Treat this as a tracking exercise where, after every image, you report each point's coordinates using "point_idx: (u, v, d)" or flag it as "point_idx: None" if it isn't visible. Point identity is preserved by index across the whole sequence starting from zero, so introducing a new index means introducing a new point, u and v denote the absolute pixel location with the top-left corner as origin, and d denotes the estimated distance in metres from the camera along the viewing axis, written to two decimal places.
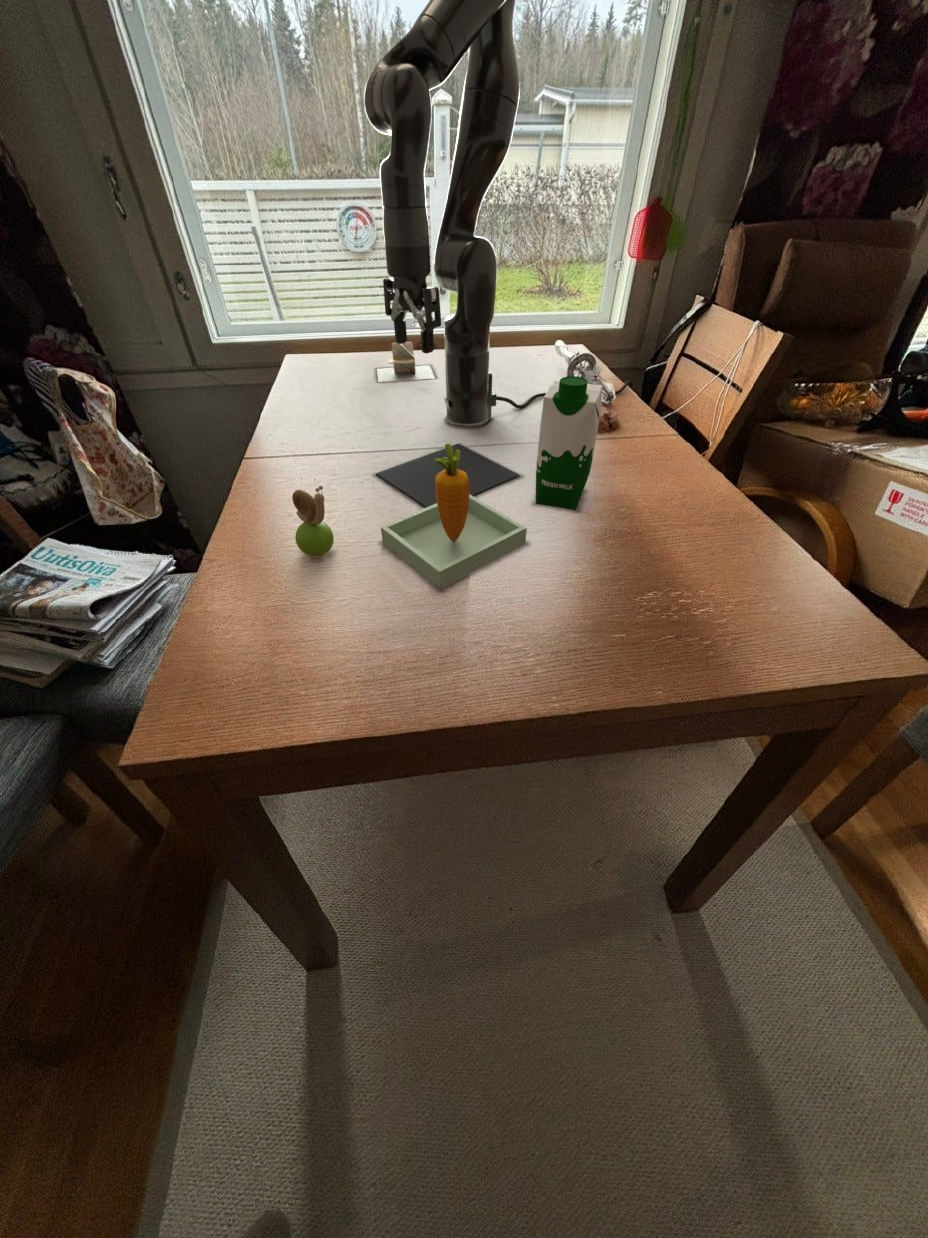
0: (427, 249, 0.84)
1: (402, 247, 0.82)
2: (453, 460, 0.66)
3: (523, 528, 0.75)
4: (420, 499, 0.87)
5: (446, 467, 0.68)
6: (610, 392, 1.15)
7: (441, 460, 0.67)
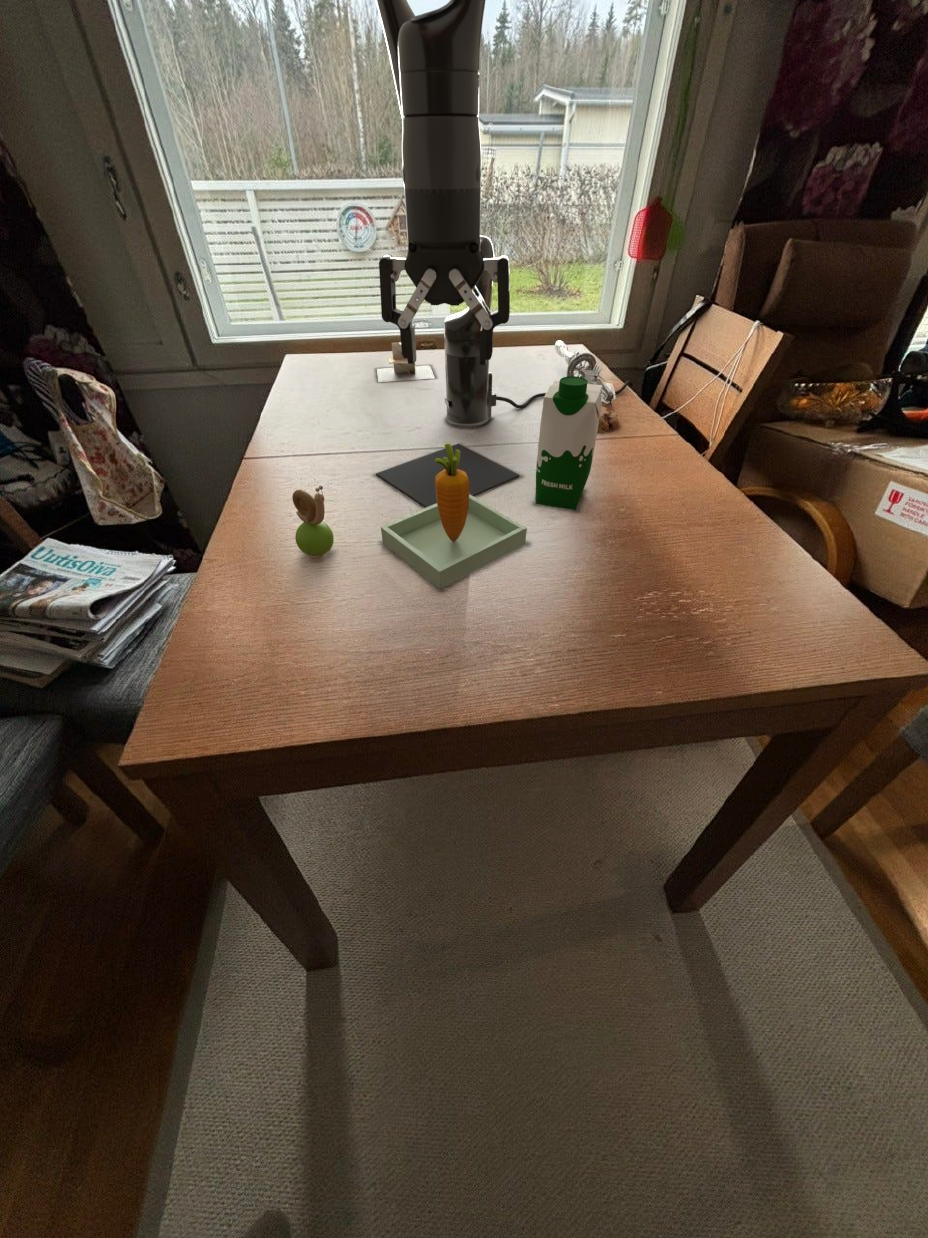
0: None
1: (466, 189, 0.47)
2: (453, 460, 0.66)
3: (523, 528, 0.75)
4: (420, 499, 0.87)
5: (446, 467, 0.68)
6: (610, 392, 1.15)
7: (441, 460, 0.67)
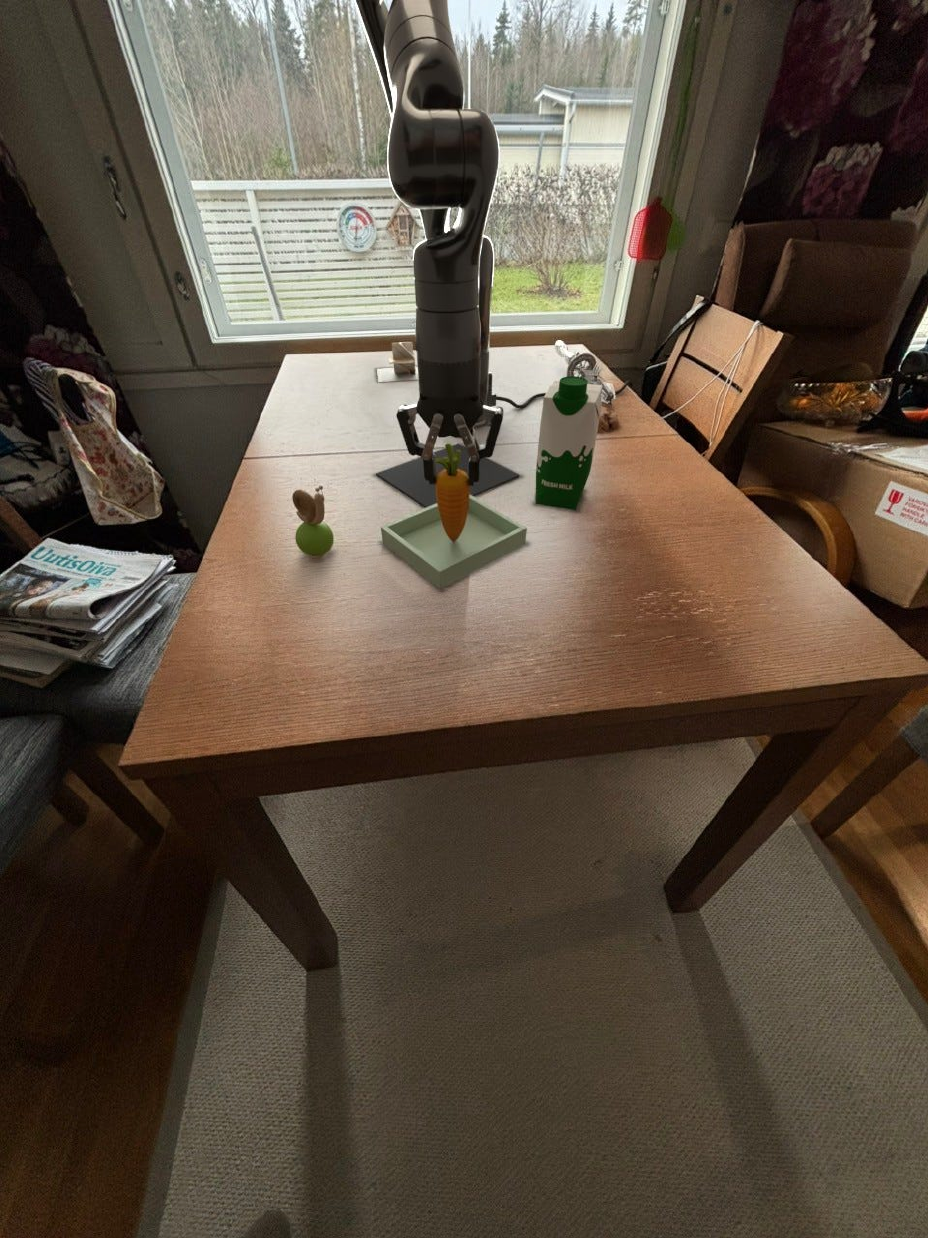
0: None
1: (468, 360, 0.57)
2: (453, 460, 0.66)
3: (523, 528, 0.75)
4: (420, 499, 0.87)
5: (446, 467, 0.68)
6: (610, 392, 1.15)
7: (441, 460, 0.67)
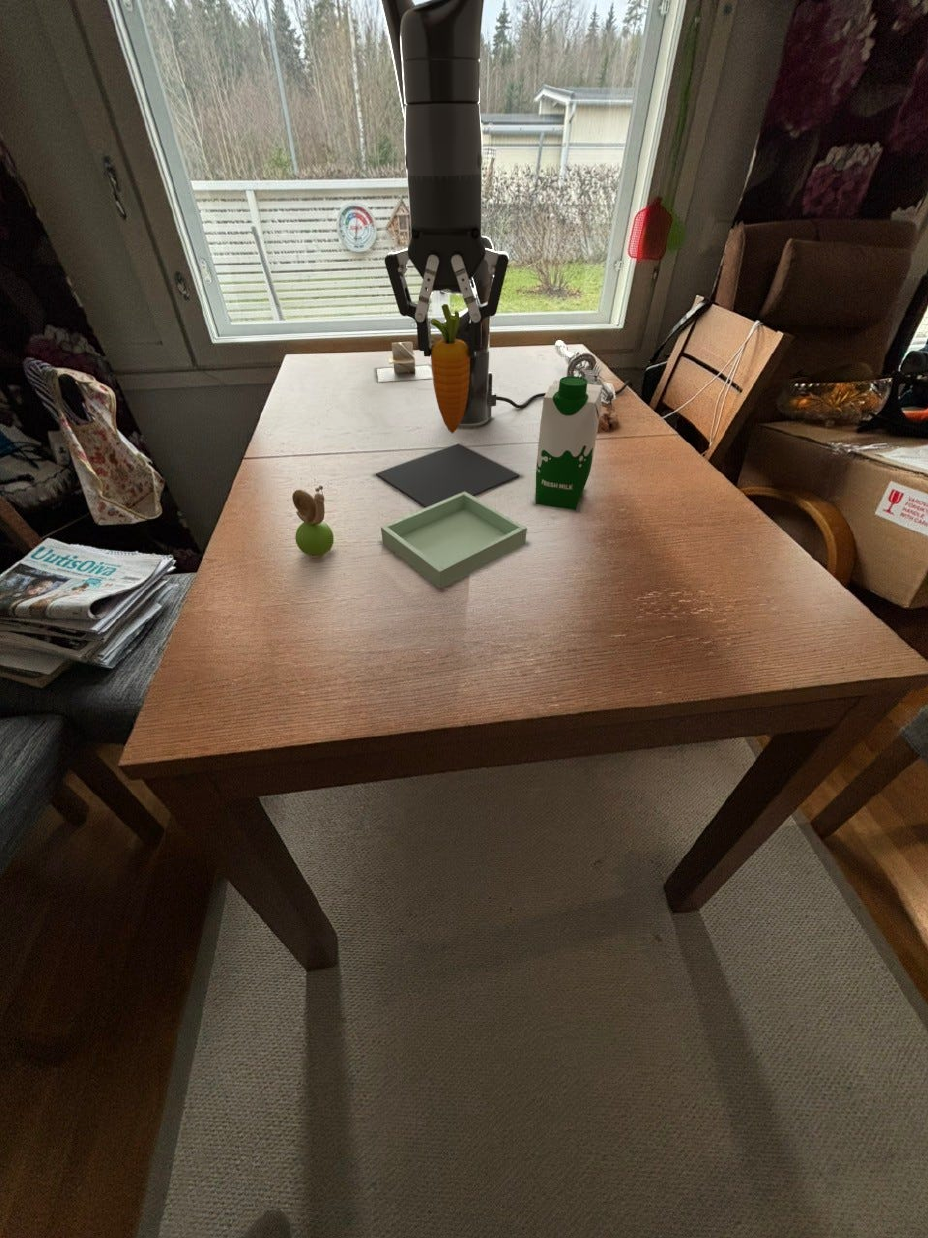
0: None
1: (468, 175, 0.48)
2: (451, 319, 0.57)
3: (523, 528, 0.75)
4: (420, 499, 0.87)
5: (443, 332, 0.59)
6: (610, 392, 1.15)
7: (437, 322, 0.58)
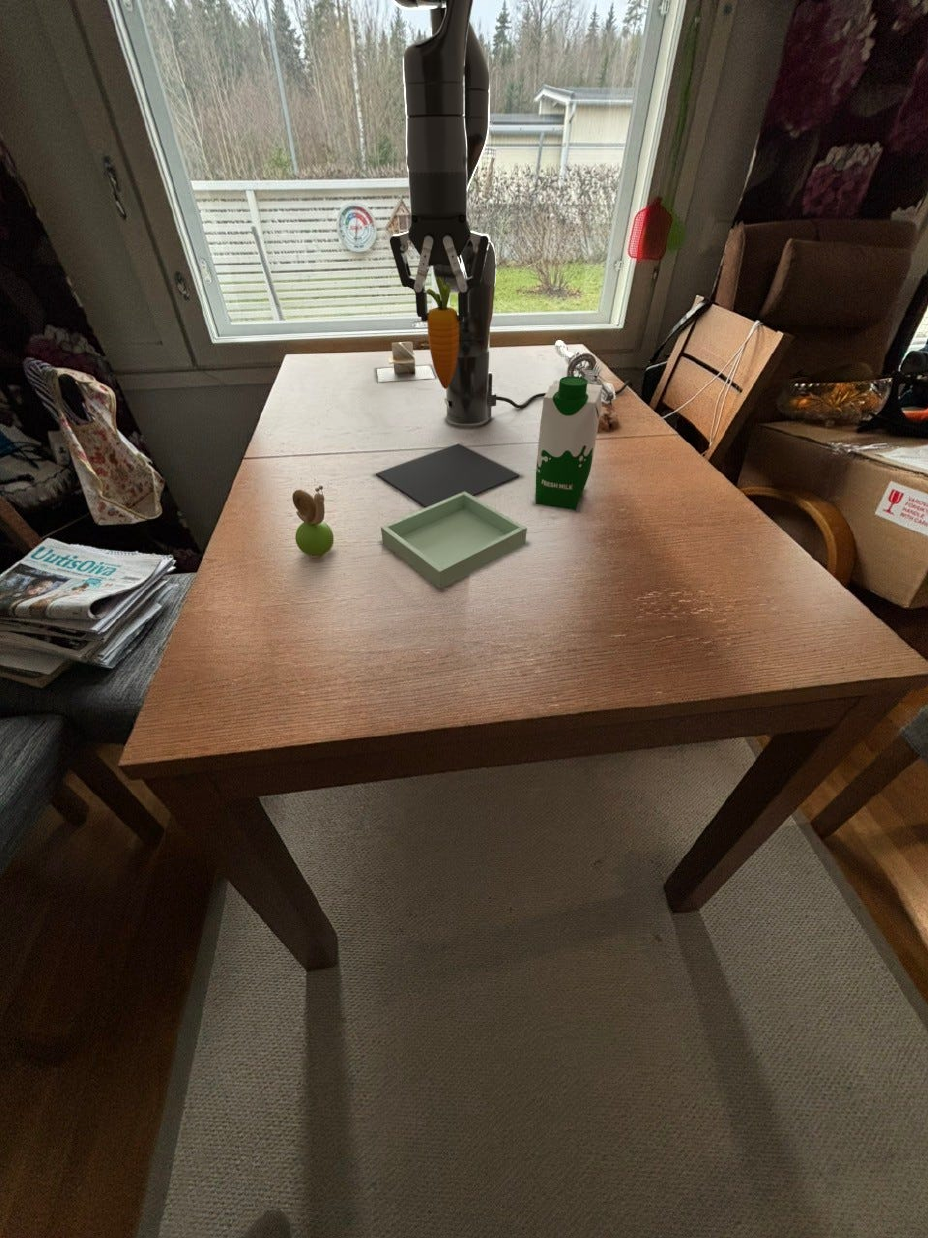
0: None
1: (455, 172, 0.62)
2: (443, 289, 0.71)
3: (523, 528, 0.75)
4: (420, 499, 0.87)
5: (437, 300, 0.73)
6: (610, 392, 1.15)
7: (432, 291, 0.72)
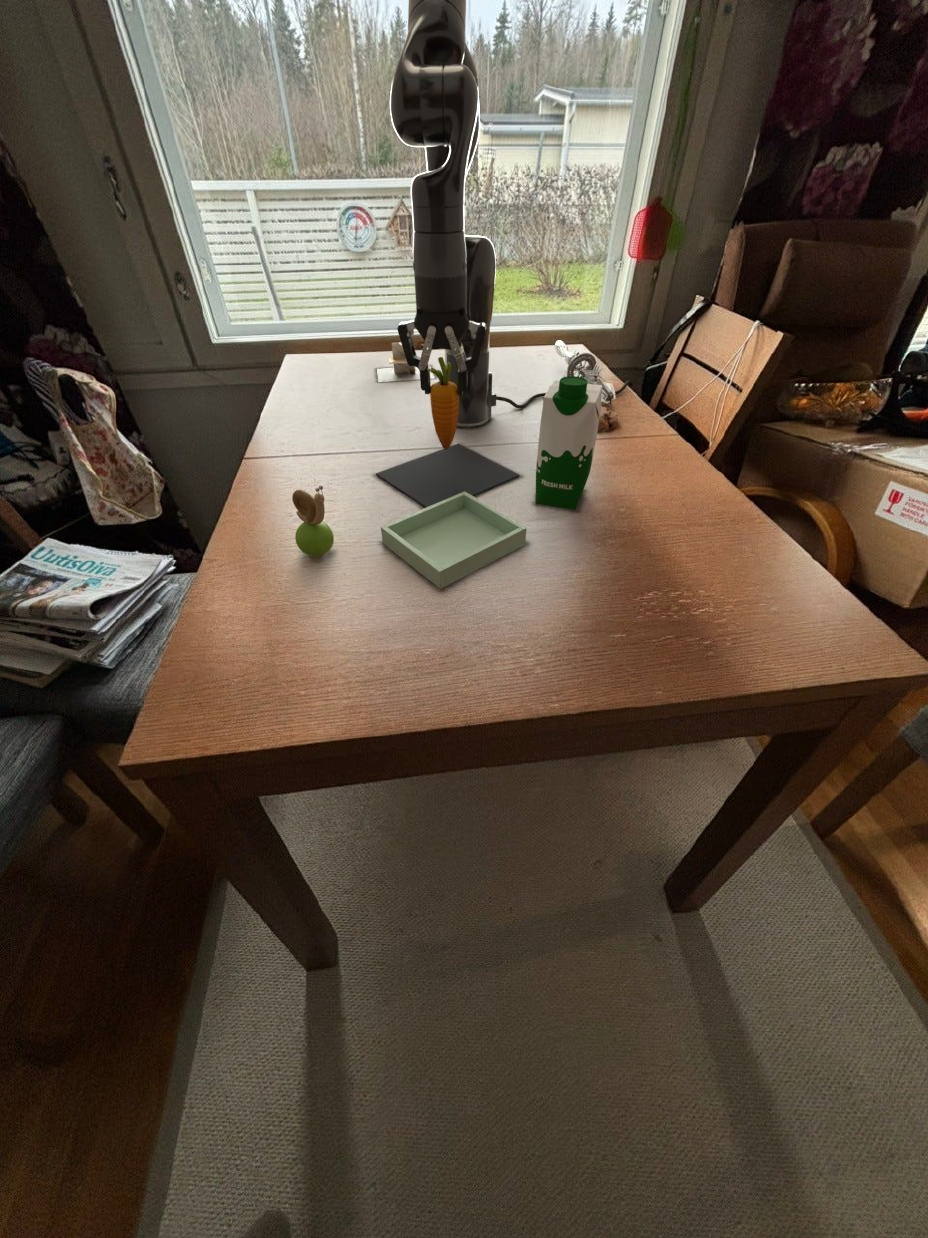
0: None
1: (456, 276, 0.70)
2: (445, 369, 0.79)
3: (523, 528, 0.75)
4: (420, 499, 0.87)
5: (439, 377, 0.81)
6: (610, 392, 1.15)
7: (435, 370, 0.80)
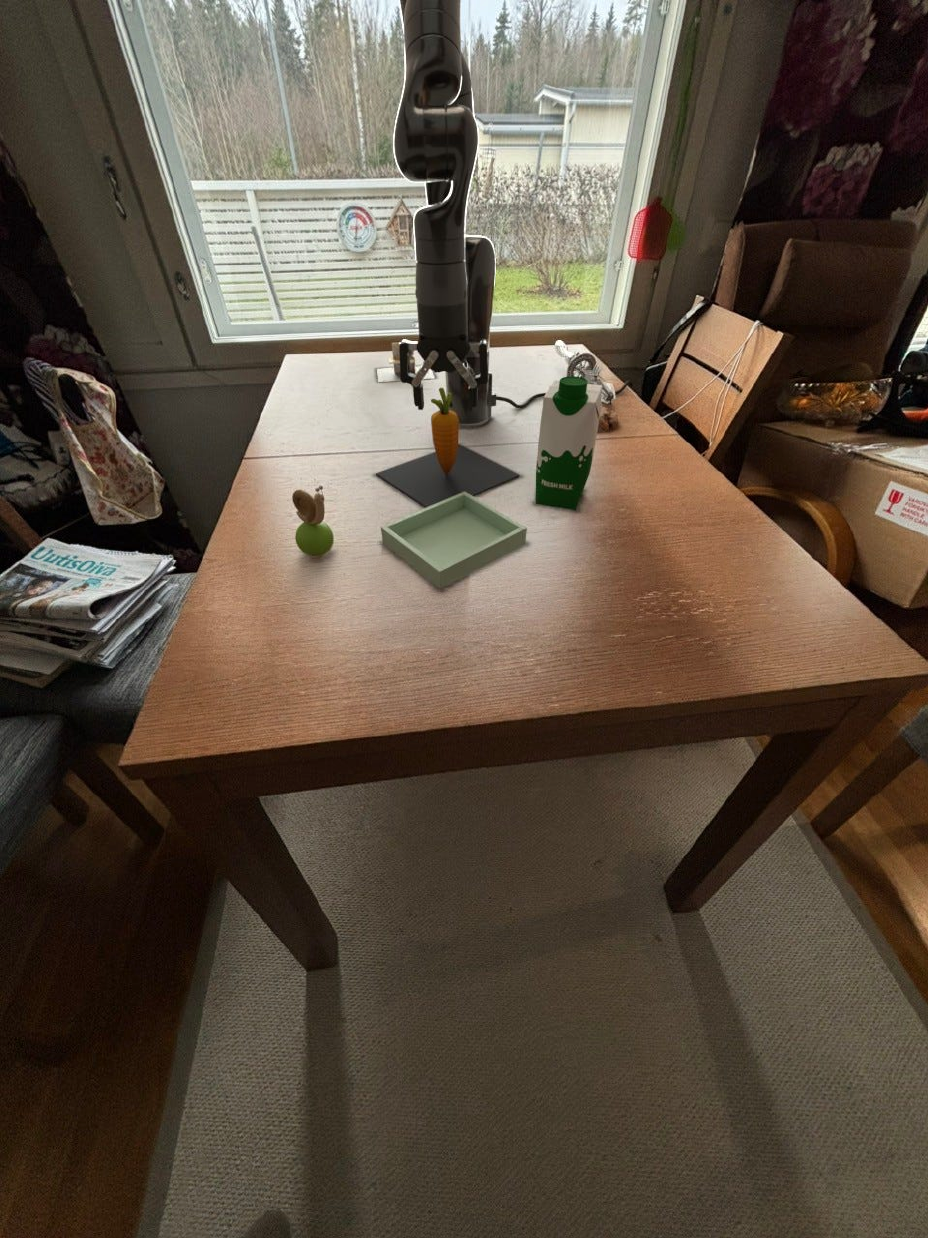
0: None
1: (457, 304, 0.72)
2: (445, 400, 0.82)
3: (523, 528, 0.75)
4: (420, 499, 0.87)
5: (440, 407, 0.84)
6: (610, 392, 1.15)
7: (436, 400, 0.83)
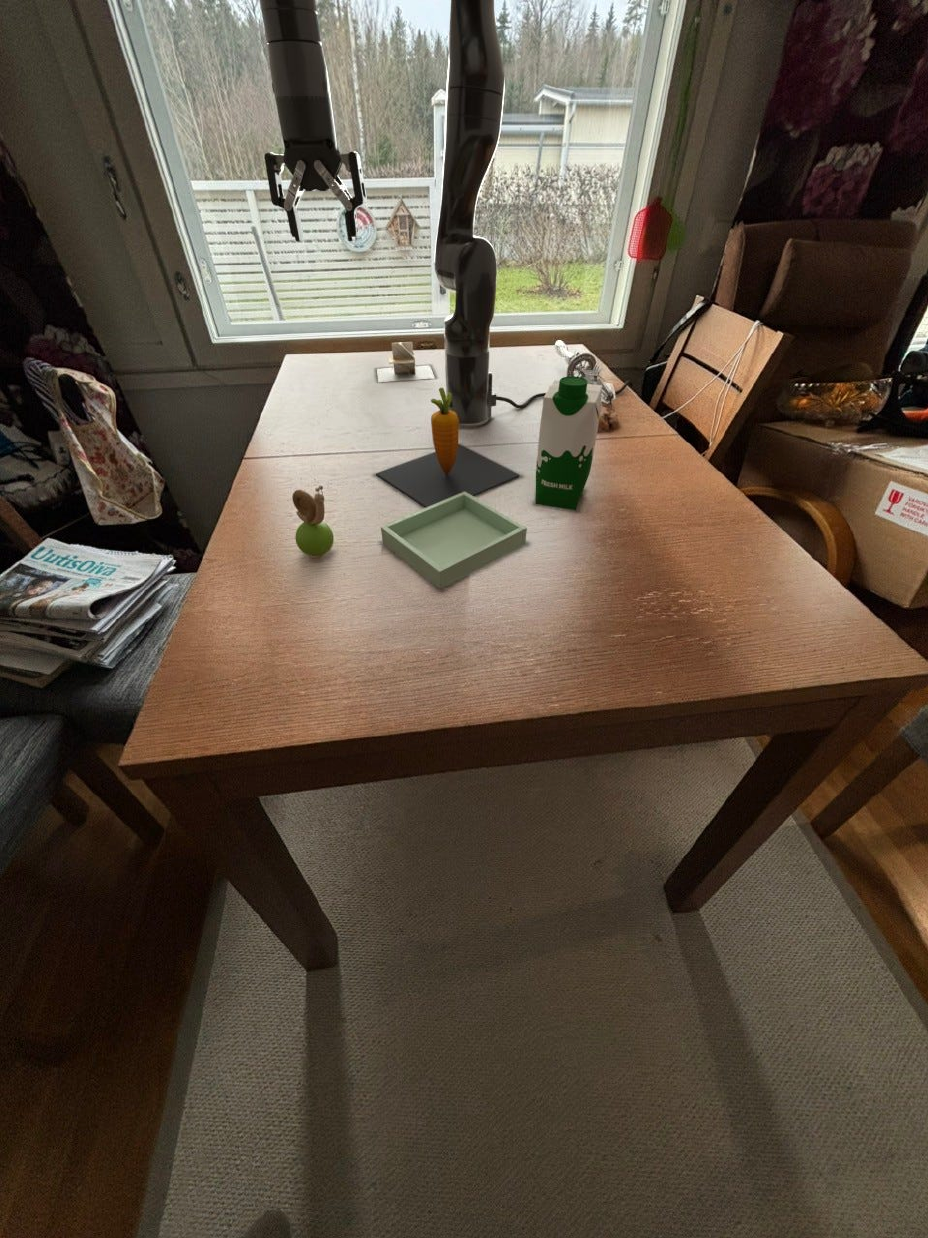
0: None
1: (315, 96, 0.67)
2: (445, 400, 0.82)
3: (523, 528, 0.75)
4: (420, 499, 0.87)
5: (440, 407, 0.84)
6: (610, 392, 1.15)
7: (436, 400, 0.83)
